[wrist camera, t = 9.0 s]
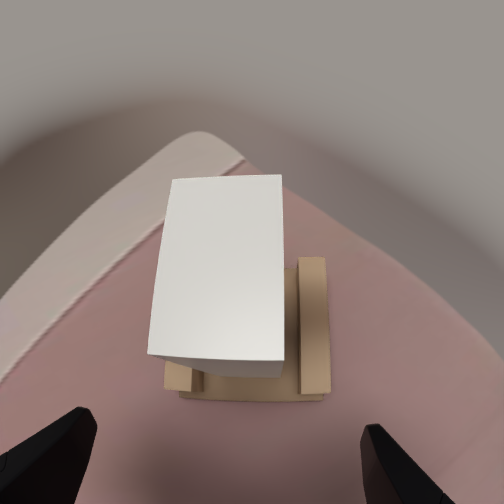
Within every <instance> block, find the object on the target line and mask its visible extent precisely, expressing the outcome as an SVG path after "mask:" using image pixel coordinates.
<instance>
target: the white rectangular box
mask: <svg viewBox="0 0 504 504" xmlns="http://www.w3.org/2000/svg"><path fill="white" fill-rule="evenodd" d="M147 354H149V355H152V356H155V357H157V358H160V359H164V360H167V361H170V362H173V363H176V364H179V365H182V366H186V367H189V368H192V369H196V370H199V371H203V372H206V373H210V374H213V375H217V376H222V377H250V378H280V377H281V372H282V368H283V363H284V249H283V206H282V175H245V176H220V177H200V178H184V179H173V181H172V186H171V191H170V196H169V201H168V207H167V212H166V217H165V223H164V229H163V235H162V241H161V247H160V253H159V260H158V266H157V273H156V280H155V288H154V296H153V304H152V312H151V321H150V330H149V341H148V352H147Z"/></svg>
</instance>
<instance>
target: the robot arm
mask: <svg viewBox="0 0 504 504" xmlns="http://www.w3.org/2000/svg"><path fill="white" fill-rule="evenodd" d="M96 432H97V423H96V421H95V419H94V417H93V415H92V413H91V411H90V410H89V409H88V408H84V407H76V408H75V409H73V410H72V411H70V412H69V413H67V414H66V415H64V416H62V417H61V418H59V419H58V420H56V421H55V422H53V423H52V424H50V425H48V426H47V427H45V428H44V429H42V430H41V431H39V432H37V433H36V434H34V435H33V436H31V437H30V438H28V439H26V440H25V441H23V442H22V443H20V444H18V445H17V446H15V447H14V448H12V449H10V450H9V451H8V452H5V453H4V454H2V455H0V504H74V503H75V500H76V497H77V494H78V491H79V488H80V486H81V483H82V480H83V477H84V474H85V472H86V469H87V466H88V463H89V459H90V456H91V451H92V447H93V443H94V440H95V436H96ZM360 449H361V460H362V473H363V486H364V492H365V497H366V502H367V504H455V503H454V502H453V501H452V500H451V499H450V498H449V497H448V496H447V495H446V494H445V493H443V491H442V490H441V489H440V488H439V487H438V486H437V485H436V483H435V482H434V481H433V480H432V479H431V478H430V477H429V476H428V475H427V474H426V473H425V472H424V471H423V470H422V469H421V468H420V467H419V466H418V465H417V464H416V462H415V461H414V460H413V459H412V458H411V457H410V456H409V455H408V454H407V453H406V452H405V451H404V450H403V449H402V448H401V447H400V445H399V444H398V443H397V442H396V441H395V440H394V439H393V438H392V437H391V436H390V435H389V434H388V433H387V432H386V430H385V429H384V428H383V427H382V426H381V425H380V424H369V425H366V426H365V429H364V432H363V435H362V438H361V441H360Z"/></svg>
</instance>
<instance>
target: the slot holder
mask: <svg viewBox="0 0 504 504" xmlns="http://www.w3.org/2000/svg"><path fill="white" fill-rule="evenodd" d="M164 389H169V390H179V397H183V398H194V399H207V400H224V401H254V402H287V401H317V400H323V393H331V374H330V338H329V315H328V297H327V281H326V267H325V257H298V264H297V268H292V269H284V363H283V368H282V372H281V377H280V378H250V377H222V376H217V375H213V374H210V373H206V372H203V371H199V370H196V369H192V368H189V367H186V366H182V365H179V364H176V363H173V362H170V361H167V360H166V361H165V378H164Z"/></svg>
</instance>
